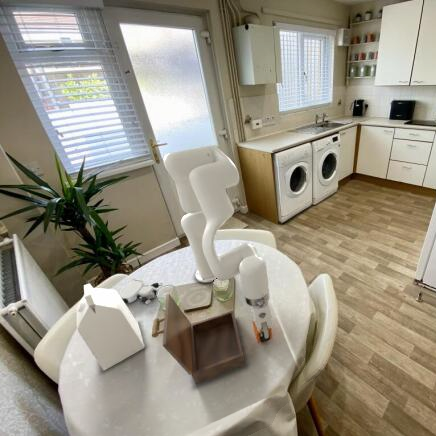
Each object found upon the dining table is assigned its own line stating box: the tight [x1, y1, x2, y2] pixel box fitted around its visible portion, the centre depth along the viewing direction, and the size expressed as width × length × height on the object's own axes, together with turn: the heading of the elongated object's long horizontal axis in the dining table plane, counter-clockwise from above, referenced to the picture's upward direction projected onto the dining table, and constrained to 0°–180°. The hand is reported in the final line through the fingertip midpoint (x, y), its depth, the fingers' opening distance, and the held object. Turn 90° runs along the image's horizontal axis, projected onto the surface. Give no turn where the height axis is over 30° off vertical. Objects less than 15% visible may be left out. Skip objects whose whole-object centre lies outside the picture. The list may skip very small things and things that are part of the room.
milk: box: [75, 283, 145, 371], centre depth 75 cm, size 12×12×26 cm
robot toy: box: [118, 278, 163, 305], centre depth 99 cm, size 12×4×15 cm
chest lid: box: [151, 293, 192, 376], centre depth 69 cm, size 15×18×5 cm
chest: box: [191, 310, 246, 385], centre depth 78 cm, size 15×18×5 cm
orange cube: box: [252, 320, 274, 344], centre depth 80 cm, size 5×5×5 cm
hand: (263, 332), depth 80 cm, fingers closed on orange cube, 5 cm apart
